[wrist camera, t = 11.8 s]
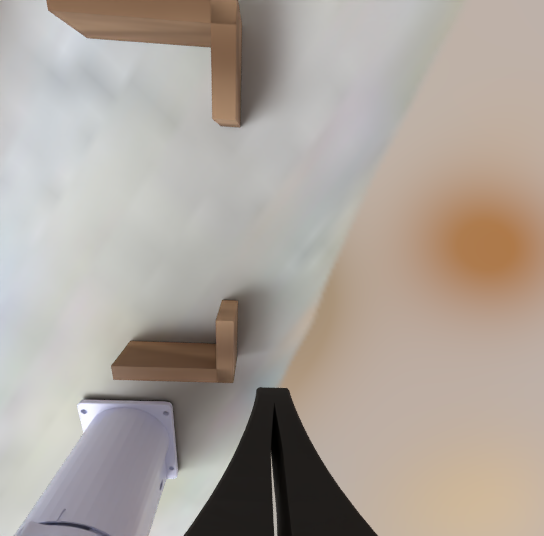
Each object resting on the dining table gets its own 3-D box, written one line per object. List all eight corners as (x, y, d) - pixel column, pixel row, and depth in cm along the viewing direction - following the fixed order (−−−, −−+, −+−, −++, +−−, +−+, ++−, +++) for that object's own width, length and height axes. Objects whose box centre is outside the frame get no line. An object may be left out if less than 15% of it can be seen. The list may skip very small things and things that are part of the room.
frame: (237, 356, 23) (233, 382, 20) (132, 353, 23) (113, 379, 20) (241, 23, 16) (236, -8, 13) (83, 11, 15) (42, -24, 12)
